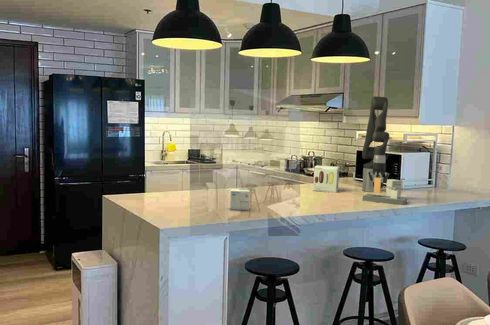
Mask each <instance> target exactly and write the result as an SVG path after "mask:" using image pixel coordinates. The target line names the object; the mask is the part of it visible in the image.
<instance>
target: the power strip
mask: <svg viewBox="0 0 490 325" xmlns="http://www.w3.org/2000/svg"><path fill="white" fill-rule="evenodd" d="M396 189H397V187H393V190H391V196H386V195H381V194H375V193H372V194H371V193H367V194H365V195H362V201H365V202H374V203H380V204H381V203H382V204H392V205H400V206H405V205H406V204H407V203H408V198H407V197H398V192H399V190H396Z"/></svg>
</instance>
